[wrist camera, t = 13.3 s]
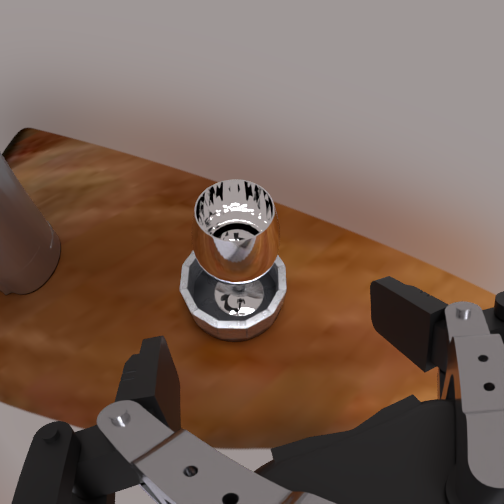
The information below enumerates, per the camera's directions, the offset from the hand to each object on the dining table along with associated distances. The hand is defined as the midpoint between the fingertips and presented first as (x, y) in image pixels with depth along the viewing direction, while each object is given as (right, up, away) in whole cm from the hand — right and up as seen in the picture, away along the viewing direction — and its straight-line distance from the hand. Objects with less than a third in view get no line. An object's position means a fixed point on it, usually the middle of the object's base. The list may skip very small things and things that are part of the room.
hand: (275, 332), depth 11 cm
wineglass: (-2, -1, +17) cm, 18 cm away
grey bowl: (-2, -1, +18) cm, 18 cm away
